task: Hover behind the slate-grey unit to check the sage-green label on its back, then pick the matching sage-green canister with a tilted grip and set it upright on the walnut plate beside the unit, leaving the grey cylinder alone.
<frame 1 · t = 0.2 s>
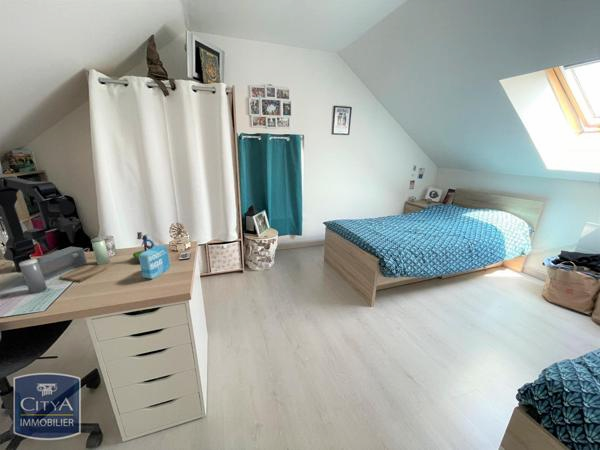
hand: (60, 246, 108), 14 cm above the table, tool pointing down, fingers open, 9 cm apart
pirate figurine: (149, 258, 131), on the table
grey cylinder: (38, 290, 101), on the table
sage canister: (103, 262, 125), on the table
walnut plate: (84, 273, 114), on the table
data package: (157, 273, 116), on the table
slate unit: (58, 271, 116), on the table
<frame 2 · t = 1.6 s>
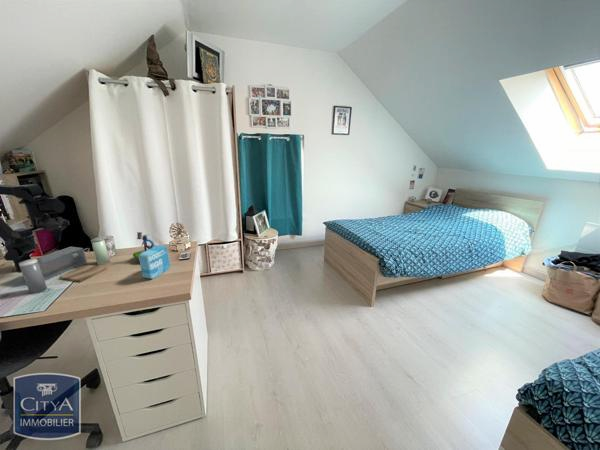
hand: (47, 245, 116), 12 cm above the table, tool pointing down, fingers open, 9 cm apart
nothing on the table moved.
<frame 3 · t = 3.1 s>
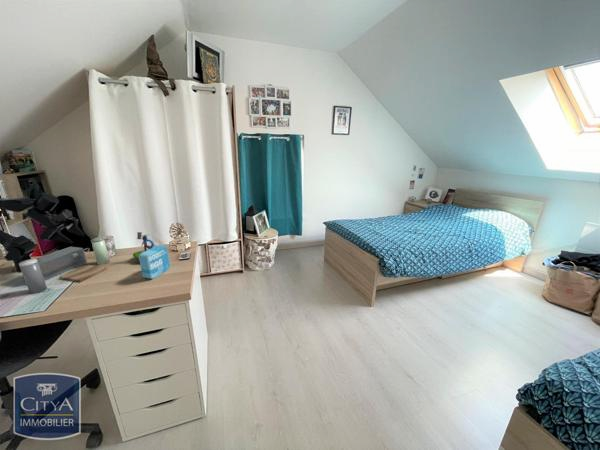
hand: (78, 239, 119), 13 cm above the table, tool tilted 45°, fingers open, 9 cm apart
nothing on the table moved.
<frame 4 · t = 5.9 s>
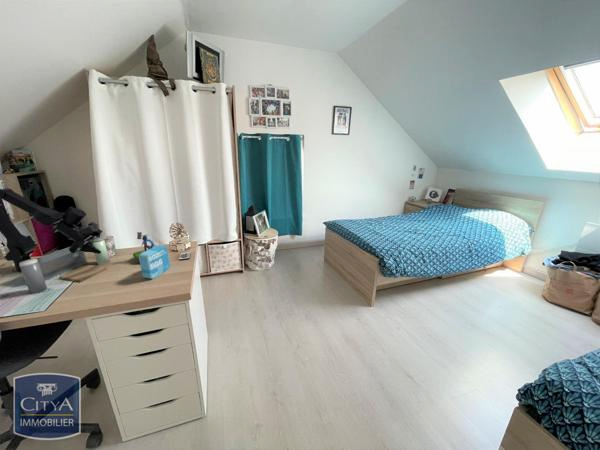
hand: (103, 250, 123), 7 cm above the table, tool tilted 45°, fingers closed on sage canister, 5 cm apart
sage canister: (103, 262, 125), on the table, touching gripper
everything else where it was.
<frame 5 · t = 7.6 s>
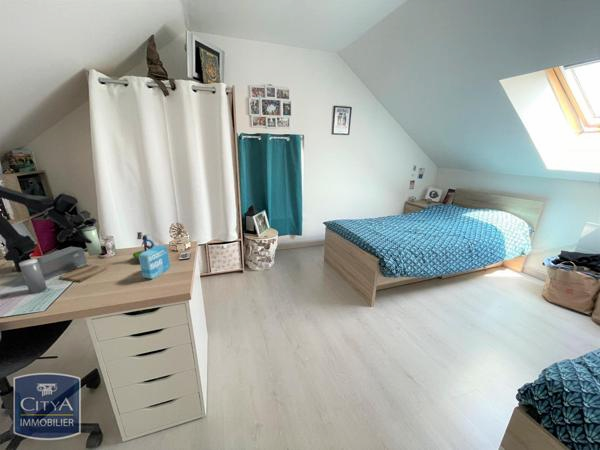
hand: (95, 240, 118), 13 cm above the table, tool tilted 45°, fingers closed on sage canister, 5 cm apart
sage canister: (95, 253, 120), point 7 cm above the table, touching gripper
everything else where it was.
when the fingers open (9 cm above the table, at t = 9.6 s): sage canister drops 1 cm, resting on walnut plate.
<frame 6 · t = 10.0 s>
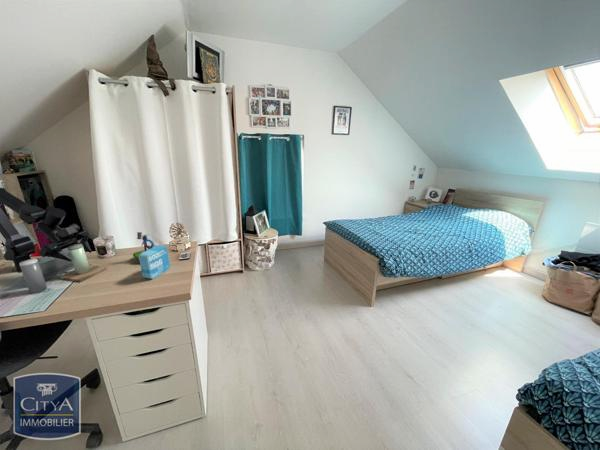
hand: (81, 256, 111), 9 cm above the table, tool tilted 45°, fingers open, 9 cm apart
sage canister: (83, 271, 114), point 1 cm above the table, touching walnut plate
everything else where it was.
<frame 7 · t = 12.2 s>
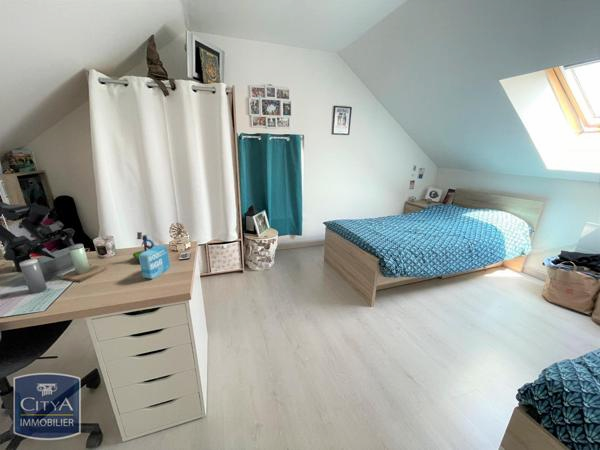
hand: (65, 253, 113), 10 cm above the table, tool tilted 45°, fingers open, 9 cm apart
nothing on the table moved.
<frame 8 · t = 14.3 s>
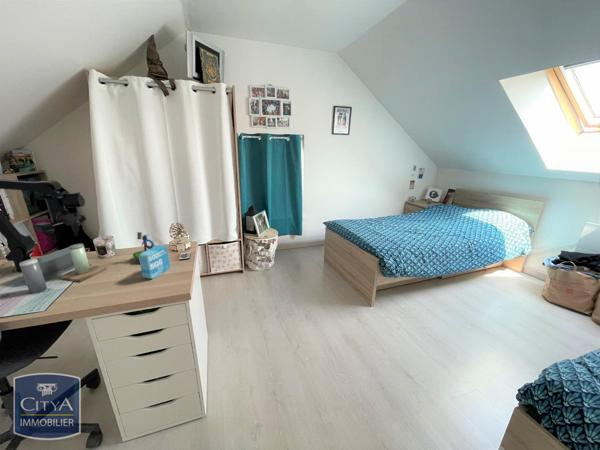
hand: (66, 239, 120), 13 cm above the table, tool pointing down, fingers open, 9 cm apart
nothing on the table moved.
at the end: sage canister inside the target area on the walnut plate (0.1 cm from its centre), point 1.0 cm above the walnut plate's base; sage canister tilted 1°; grey cylinder moved 0.0 cm from its start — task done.
